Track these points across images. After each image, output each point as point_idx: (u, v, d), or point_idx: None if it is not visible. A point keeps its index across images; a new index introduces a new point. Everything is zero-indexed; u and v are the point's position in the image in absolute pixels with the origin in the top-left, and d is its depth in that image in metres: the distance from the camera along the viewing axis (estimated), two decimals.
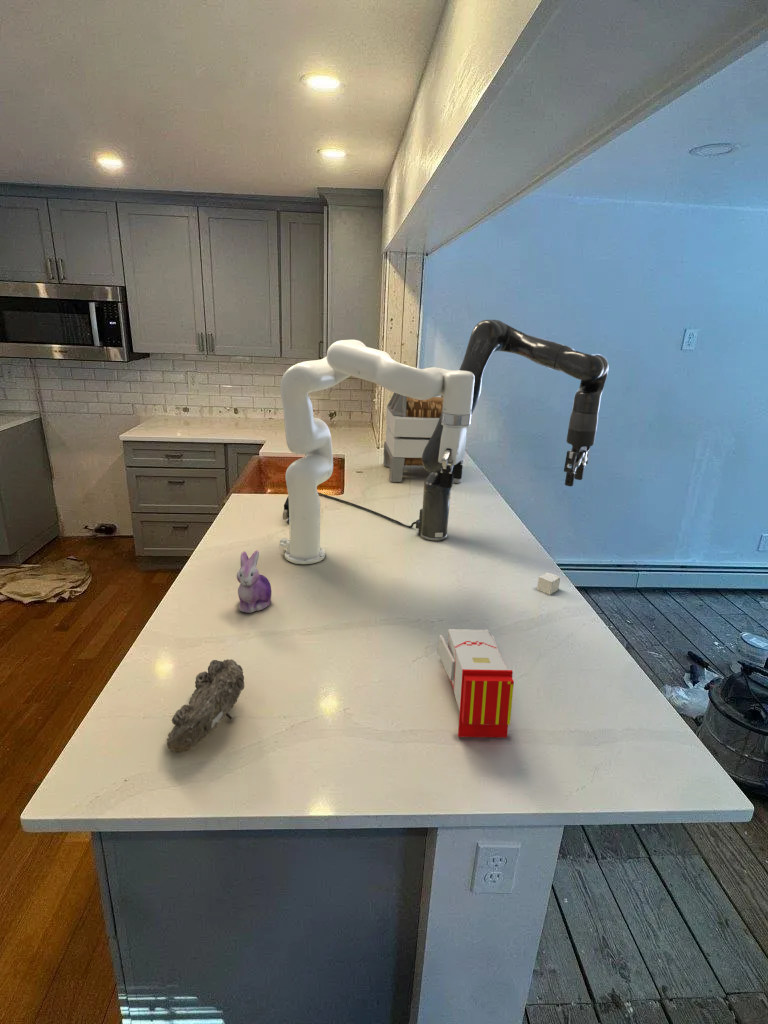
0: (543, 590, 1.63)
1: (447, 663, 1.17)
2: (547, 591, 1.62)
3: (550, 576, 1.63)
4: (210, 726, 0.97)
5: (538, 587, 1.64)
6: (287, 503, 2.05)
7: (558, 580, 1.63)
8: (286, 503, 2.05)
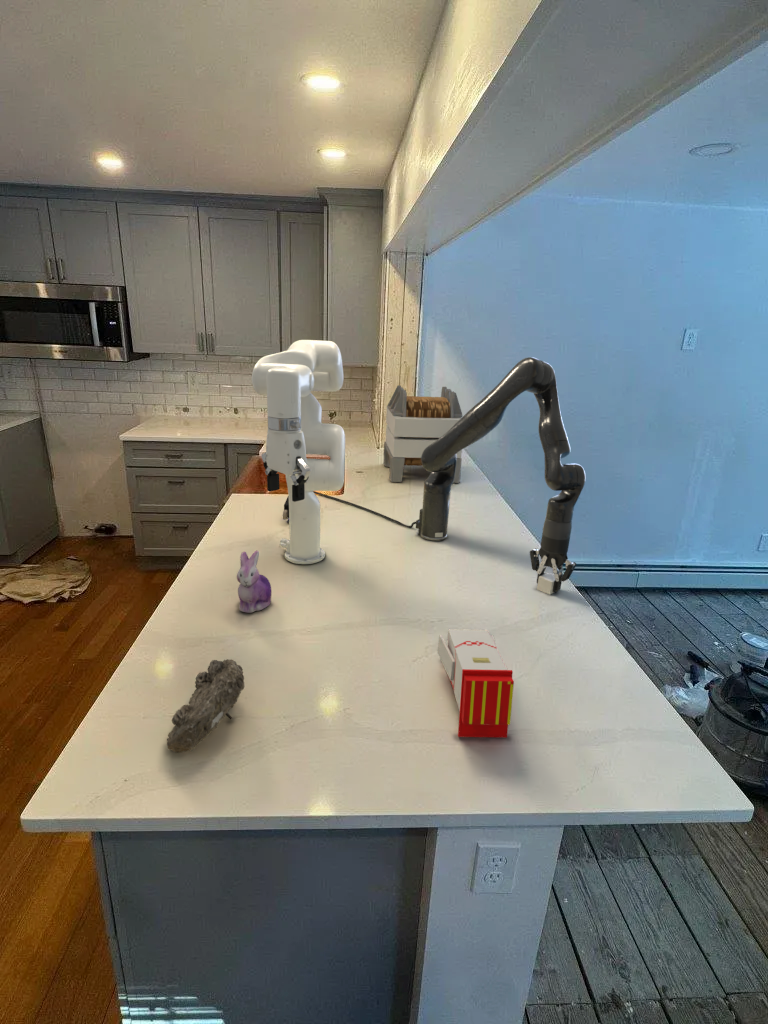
0: (543, 590, 1.63)
1: (447, 663, 1.17)
2: (547, 591, 1.62)
3: (550, 576, 1.63)
4: (210, 726, 0.97)
5: (538, 587, 1.64)
6: (287, 503, 2.05)
7: None
8: (286, 503, 2.05)
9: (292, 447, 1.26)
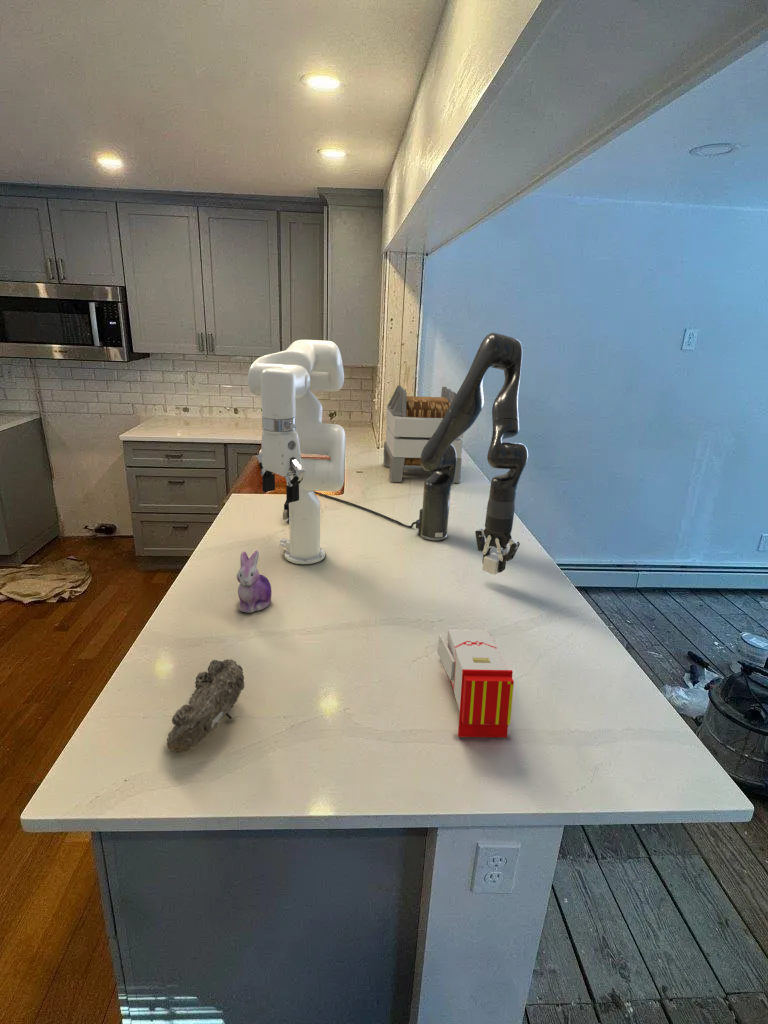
0: (488, 570, 1.62)
1: (447, 663, 1.17)
2: (492, 571, 1.61)
3: (495, 556, 1.63)
4: (210, 726, 0.97)
5: (483, 567, 1.63)
6: (287, 503, 2.05)
7: None
8: (286, 503, 2.05)
9: (286, 448, 1.26)
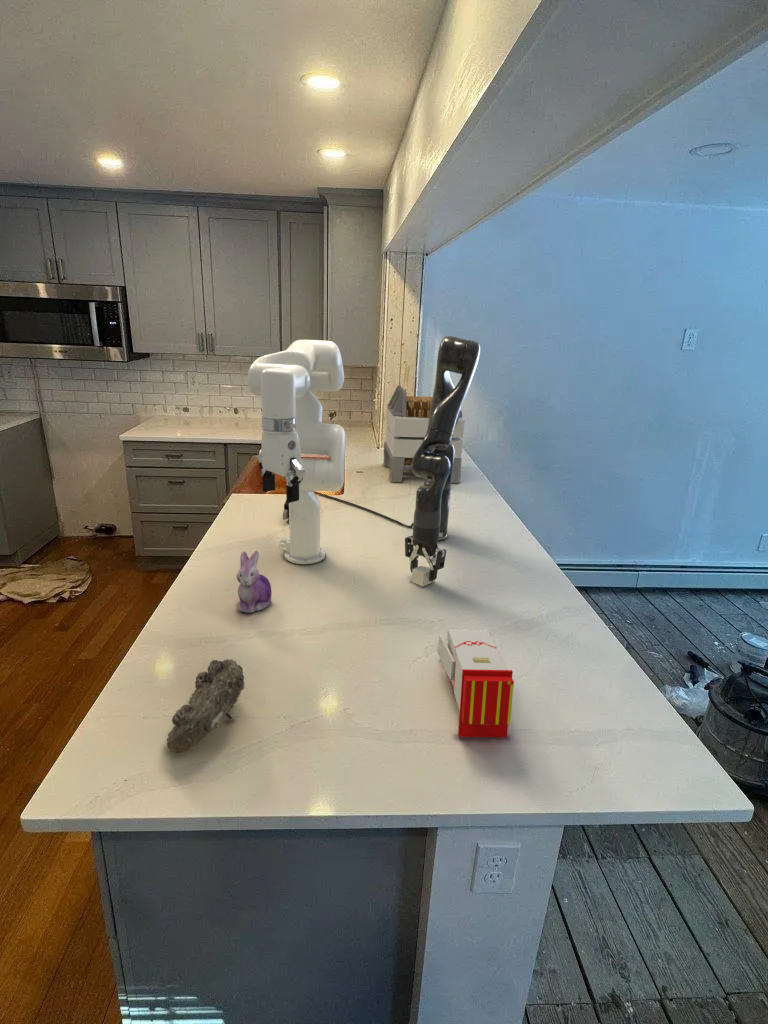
0: (417, 582, 1.64)
1: (447, 663, 1.17)
2: (420, 583, 1.63)
3: (424, 568, 1.64)
4: (210, 726, 0.97)
5: (412, 579, 1.65)
6: (287, 503, 2.05)
7: None
8: (286, 503, 2.05)
9: (286, 448, 1.26)
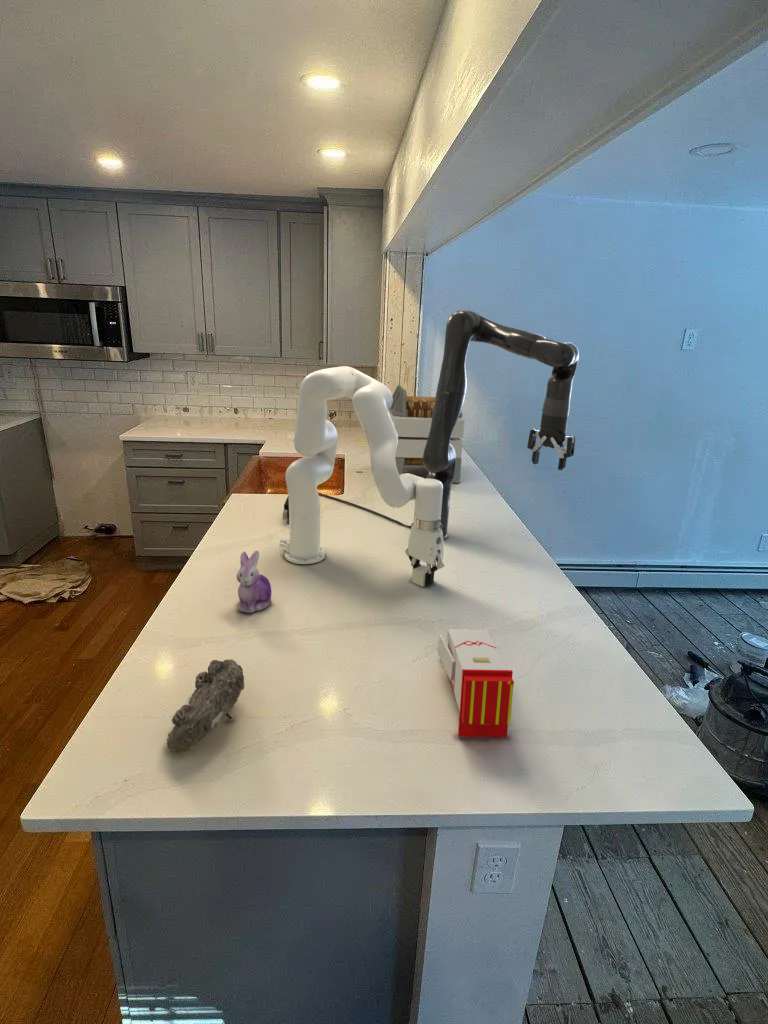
0: (417, 582, 1.64)
1: (447, 663, 1.17)
2: (420, 583, 1.63)
3: (424, 568, 1.64)
4: (210, 726, 0.97)
5: (412, 579, 1.65)
6: (287, 503, 2.05)
7: None
8: (286, 503, 2.05)
9: (435, 543, 1.57)
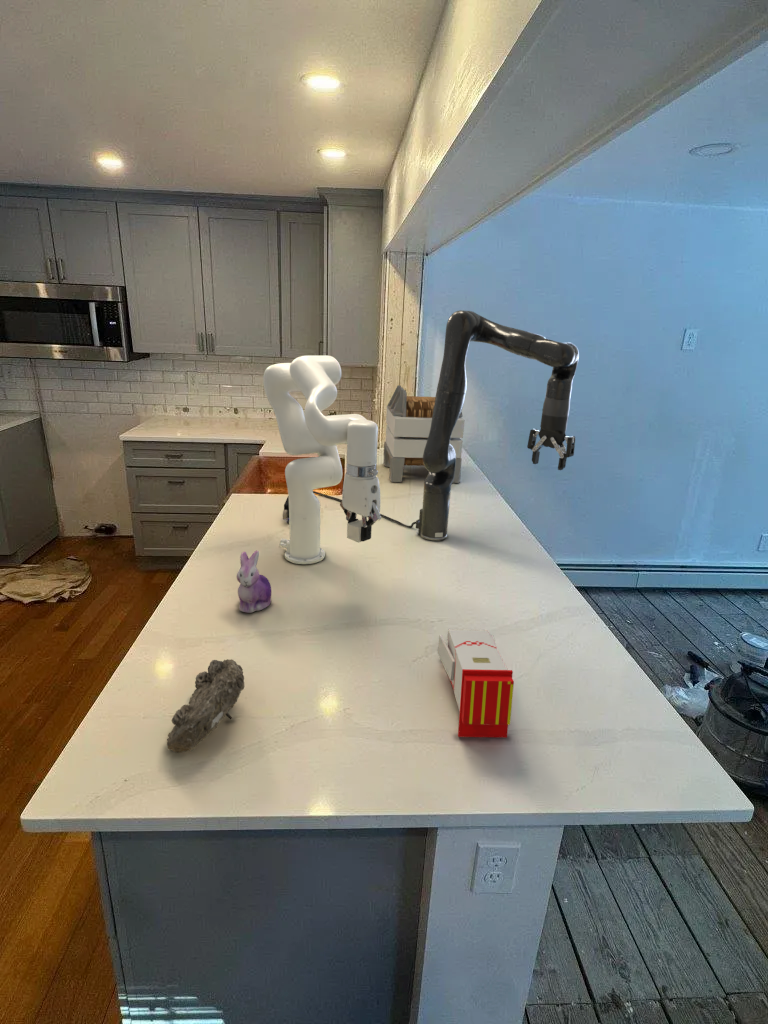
0: (352, 538, 1.47)
1: (447, 663, 1.17)
2: (355, 539, 1.46)
3: (360, 523, 1.48)
4: (210, 726, 0.97)
5: (348, 535, 1.48)
6: (287, 503, 2.05)
7: None
8: (286, 503, 2.05)
9: (369, 492, 1.40)
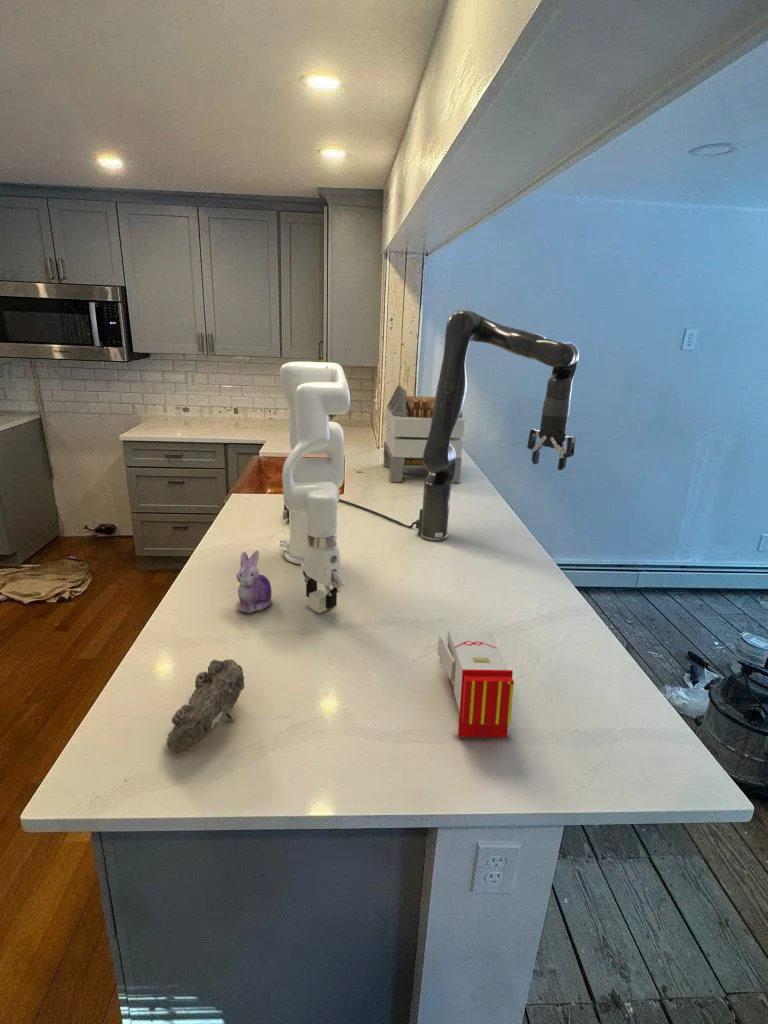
0: (313, 608, 1.47)
1: (447, 663, 1.17)
2: (316, 609, 1.46)
3: (322, 593, 1.48)
4: (210, 726, 0.97)
5: (309, 605, 1.48)
6: None
7: None
8: None
9: (329, 562, 1.40)
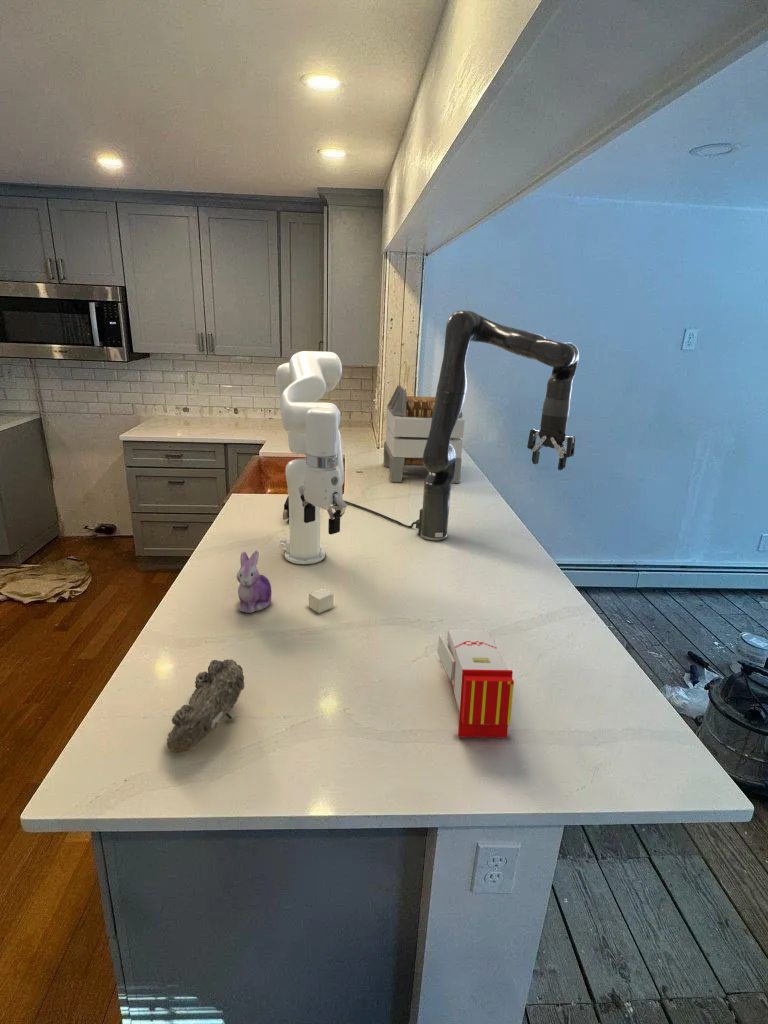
0: (313, 608, 1.47)
1: (447, 663, 1.17)
2: (316, 609, 1.46)
3: (322, 593, 1.48)
4: (210, 726, 0.97)
5: (309, 605, 1.48)
6: (287, 503, 2.05)
7: (330, 597, 1.48)
8: (286, 503, 2.05)
9: (329, 483, 1.33)
